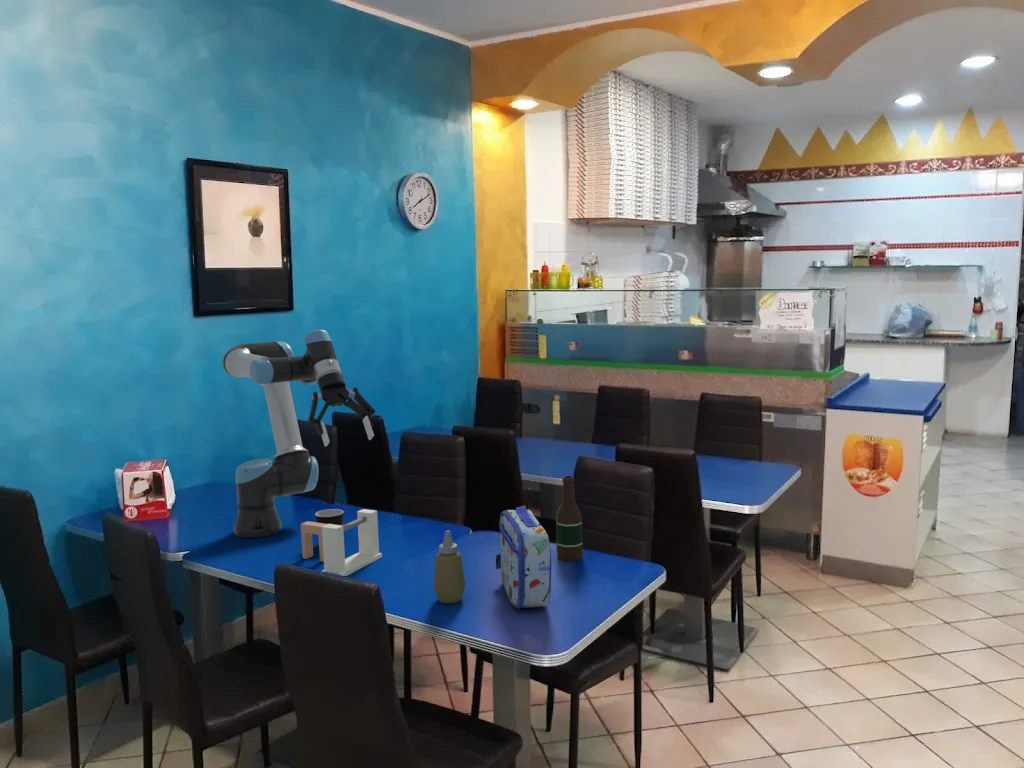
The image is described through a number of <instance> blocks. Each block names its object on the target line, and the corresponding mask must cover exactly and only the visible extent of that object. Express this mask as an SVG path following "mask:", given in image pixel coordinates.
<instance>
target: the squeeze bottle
mask: <svg viewBox="0 0 1024 768" xmlns="http://www.w3.org/2000/svg"><path fill="white" fill-rule="evenodd" d="M462 557H463V556H462V553H460V552H459V551H458V544H457V543H454V542H453V538H452V534H451V530H445V532H444V536H443V543H441V544H439V545H438V553H437V554H436V555H435V560H434V561H435V562H434V577H433V578H434V579H433V588H434V589H433V590H434V591H435V594H436V598H437V599H438V601H439V602H440V603H442V604H456V603H458V602H461V600H462V598H463V595H464V592H465V588H466V578H465V573H464V565H463V558H462Z"/></svg>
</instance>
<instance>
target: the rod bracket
mask: <svg viewBox="0 0 1024 768" xmlns="http://www.w3.org/2000/svg"><path fill="white" fill-rule="evenodd" d="M356 515H357V519H355V520H352V521H350V522H348V523H346V524H343V526H341V525H334V524H327V525H325V526H323V527H322V538H323V556H324V562H323V568H324V569H323V570H321V572H322V571H323V572H328V573H332V574H336V575H341V576H346V577H347V576H349V575H352V574H353V573H356V572H358V570H360V569H362V568H364V567H366V566H368V565H369V564H371V563H374V562H376V561H377V560H379V559H382V558H383V553H382V552H380V545H379V544H380V543H379V520H378V510H374V509H365V508H361V509H360V510H358V511H356ZM354 527H357V536H358V552H357V553H354V554H352V555H350V556H348V557H347V558H346V555H345V554H346V553H345V535H344V534H345V533H344V532H346V531H349V530H350V529H352V528H354Z"/></svg>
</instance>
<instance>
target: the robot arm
mask: <svg viewBox="0 0 1024 768" xmlns="http://www.w3.org/2000/svg"><path fill="white" fill-rule="evenodd" d="M304 345H305V347H306V350H305V352H304V354H303V355H299V356H298V355H297V356H295V354H294V351H293V349H292V347H291V345H289V344H288V343H286V342H285V341H275V340H274V341H268V342H267V341H266V342H253V343H241V344H237V345H235V346H233V347H231V348H229V349H228V350H227V351H226V352H225V353H224V355H223V357H222V361H221V363H222V367H223V369H224V371H225V372H226V374H228V376H231V377H235V378H250V380H251V381H252V382H253V384H256V385H260V386H262V387H263V390H264V394H265V399H266V405H267V408H268V415H269V420H270V423H271V424H270V425H271V429H272V434H273V438H274V442H275V444H274V445H275V448H276V454H275V455H274V457H273V460H272V459H271V458H267V457H266V458H263V457H262V458H256V459H252V460H248V461H245V462H243V463H241V464H240V465H238V466H237V468H236V470H235V481H234V482H235V485H236V487H235V488H236V499H237V514H236V517H235V523H234V525H233V534H234V536H235V537H237V538H244V539H255V538H265V537H268V536H272V535H275V534H277V533H280V532H281V530H282V526H283V525H282V520H281V519H280V517H279V514H278V512H277V511H278V510H277V508H276V504H275V503H276V502H275V499H276V498H279V497H284V496H285V497H286V496H291V495H295V494H296V495H297V494H303V493H306V492H307V493H308V492H310V491H313V490H314V489H315V488H316V487H317V484H318V482H319V481H318V480H319V464H318V461H317V458H316V457H315V456H312V455H310V454H309V453H310V452H309V450H308V449H306V448H305V447H304V446H303V442H302V437H301V433H300V428H299V424H298V418H297V414H296V409H295V405H294V400H293V395H292V390H291V385H290V382H297V381H298V382H299V383H300V384H301V385H305V386H312V385H315V384H317V385H318V388H319V391H320V393H318V392H317V391H313V394H312V395H311V405H310V406H311V407H310V411H309V415H308V419H307V424H308V425H309V426H311V425H313V427H314V428H315V430H316V433H317V435H318V436H321V439H322V442H323V446H324V447H327V446H329V443H330V441H331V440H330V438H329V435H328V431H327V428H326V425H325V422H324V421H322V419H323V417H324V416H325V413H326V412H327V410H328V408H329V406H330V407H332V408H335V407H343V406H344V407H346V408H349V409H350V410H352V411H353V412H355V413H356V414H357V415H359V416H360V417H362V418H363V419H362V424H363V426H364V429H365V432H366V434H367V439H368V441H371V440H372V439H373V437H374V436H375V433H374V430H373V426H374V422H373V420H372V417H373V416H375V413H376V409H374V407H373V406H372V405H371V404H370V403H369V402H368V401H367V400H366V399H365V398H364V397H363V396H362V394H361V393H360V391H359V389H358V388H357V387H353V389H348V388H347V387H346V382H345V379H344V376H343V374H342V370H341V368H340V364H339V361H338V359H337V355H336V352H335V349H334V345H333V341H332V339H331V336H330V335H329V332H328V331H326V330H324V329H315V330H314V329H313V330H312V331H309V332H308V333H306V335H305V336H304ZM353 399H354V400H353ZM320 400H322V401H324V402H325V403H324V405H323V407H322V409H321V410H320V412H319V414H318V416H317V418H315V416H316V413H317V407H318V405H319V403H318V402H319V401H320Z"/></svg>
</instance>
